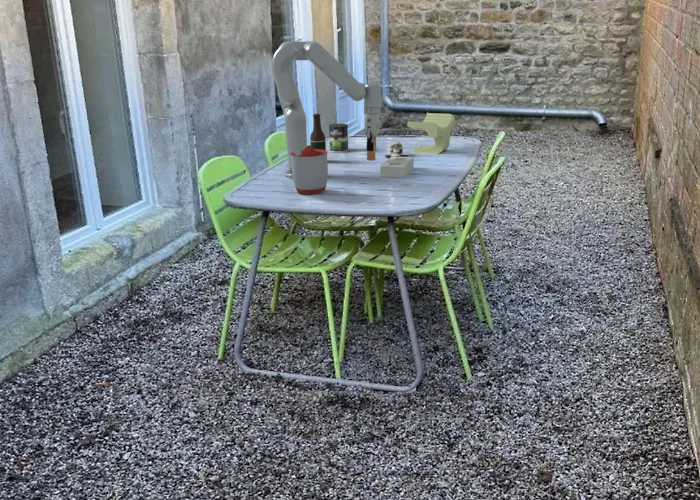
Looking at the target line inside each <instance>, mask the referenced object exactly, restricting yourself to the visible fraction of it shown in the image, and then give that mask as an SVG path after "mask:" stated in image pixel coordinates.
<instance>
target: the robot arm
mask: <svg viewBox="0 0 700 500" xmlns="http://www.w3.org/2000/svg"><path fill="white" fill-rule="evenodd" d="M294 61H309V62H310V63H312V65H313V66H315V67H316V68H317V69H318V70H319V71H320V72H321V73H322V74H323V75H324V76H325V77H326V78H327V79H329V81H331V82H333V83H334V84H335V85H336V86H338V88H340V89H341V90H342V91H343V92H344V93H345V94H346V95H347V96H348V97H350V98H351V100H353V101H355V102H360V101H363V114H364V115H365V121H364V135H365V136H366V152H367V151H373V149H374V142H373V135H374V136H376V137H377V136H378V135H379V134H380V131H381V130H380V128H381V126H380V114H381V98H382V97H381V95H382V94H381V93H382V92H381V90H382V88H381V84H380V83H375V82H369V83H363V82H362V83H361V82H359V81H358V80H357V79H356V78H355V77H354V76H353V75H352V74H350V72H349V71H348V70H347V69H346V68H345V67H344V65H342V64H341V63H340V61H339V60H338V59H337V58H335V57H334V56H333V55H332V54H331V53H330V52H329V51H328V50H327V49H326V48H325V47H323V46H322V44H320V43H319V42H317V41H315V40H314V41H313V40H311V41H310V40H309V41H308V40H307V41H284V42H282V43H281V44H280V45H279V47H278V49H277V50H276V51H275V53H274V55H273V56H272V61H271V71H272V76H273V78H274V84H275V86H276V91H277V97H278V99H279V102H280V106H281V110H282V113H283V117H284V125H285V141H286V157H287V171H285V172H284V175H285V176H286V177H289V178H293V176H292V163H291V152H293V153H295V156H299V155H301V150H304V149H305V148H306V147H307V146H308V139H307V138H308V137H307V116H306V112H305V111H304V107H303V104H302V103H303V102H302V101H301V97H300V92H299V89H298V87H297V85H296V82H295V78H294V75H293V71H292V63H293V62H294ZM370 134H372V136H370ZM371 137H372V138H371Z"/></svg>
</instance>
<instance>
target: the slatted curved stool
mask: <svg viewBox="0 0 700 500" xmlns="http://www.w3.org/2000/svg"><path fill="white" fill-rule="evenodd" d="M407 128H409V129H412V130H413V131H423V132H426V133H427V135H428V138H433V140H434V141H435V143H434V144H430V145H426V144H423V145H419V146H417V147H415V148H413V154H424V155H425V154H426V153H427V154H428V155H430V154H431V155H438V154H440V153H442V152H444V151H445V150H448V148H449V147H450V141H451V140H450V139H451V132H452V130H453V129H456V117H455V115H453V114H451V113H435V112H434V113H432V112H431V113H430V112H427V113H426V116H425V117H424V119H423V120H422V121H410V120H409V121H407Z"/></svg>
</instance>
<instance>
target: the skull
mask: <svg viewBox="0 0 700 500" xmlns="http://www.w3.org/2000/svg"><path fill="white" fill-rule="evenodd" d="M389 148H390V149H389V152H390V154H385V155H384V157H386V158H390V157H409V156H408V155H409V154H403V153H404V151H403V149H404V147H403V145H402V143H401V142H400V141H393V142H392V143H391V144H390V147H389Z"/></svg>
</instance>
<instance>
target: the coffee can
mask: <svg viewBox="0 0 700 500" xmlns="http://www.w3.org/2000/svg"><path fill="white" fill-rule="evenodd" d="M328 132H329V134H328V135H329V136H328V137H329V152H331V153H334V152H335V154H336V153H337V154H339V153H340V152H341V153H346V151H347V152H349V125H348V124H347V123H331V124H329V125H328Z"/></svg>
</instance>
